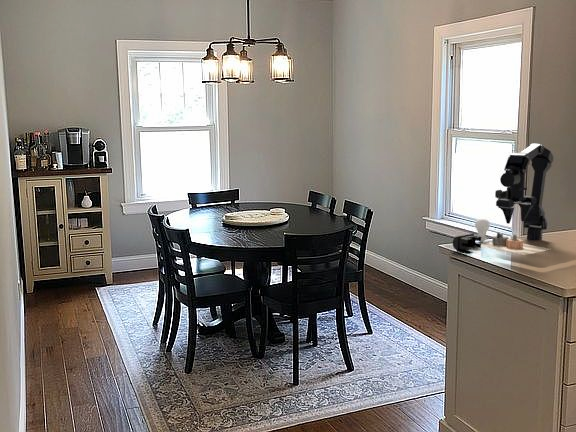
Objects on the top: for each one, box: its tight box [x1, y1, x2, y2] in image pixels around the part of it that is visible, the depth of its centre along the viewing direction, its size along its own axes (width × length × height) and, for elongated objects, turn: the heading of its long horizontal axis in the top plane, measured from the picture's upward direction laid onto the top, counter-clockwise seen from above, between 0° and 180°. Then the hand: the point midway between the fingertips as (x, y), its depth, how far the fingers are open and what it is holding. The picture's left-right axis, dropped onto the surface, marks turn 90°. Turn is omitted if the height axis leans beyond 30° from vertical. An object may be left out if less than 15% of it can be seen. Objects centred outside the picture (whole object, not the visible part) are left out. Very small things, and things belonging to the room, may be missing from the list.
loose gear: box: [506, 238, 524, 249], centre depth 265 cm, size 6×6×3 cm
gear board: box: [480, 232, 552, 256], centre depth 265 cm, size 17×24×7 cm
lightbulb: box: [474, 217, 491, 243], centre depth 281 cm, size 6×6×11 cm
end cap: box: [452, 232, 482, 255], centre depth 265 cm, size 10×7×7 cm
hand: (515, 222), depth 263 cm, fingers open, 9 cm apart
